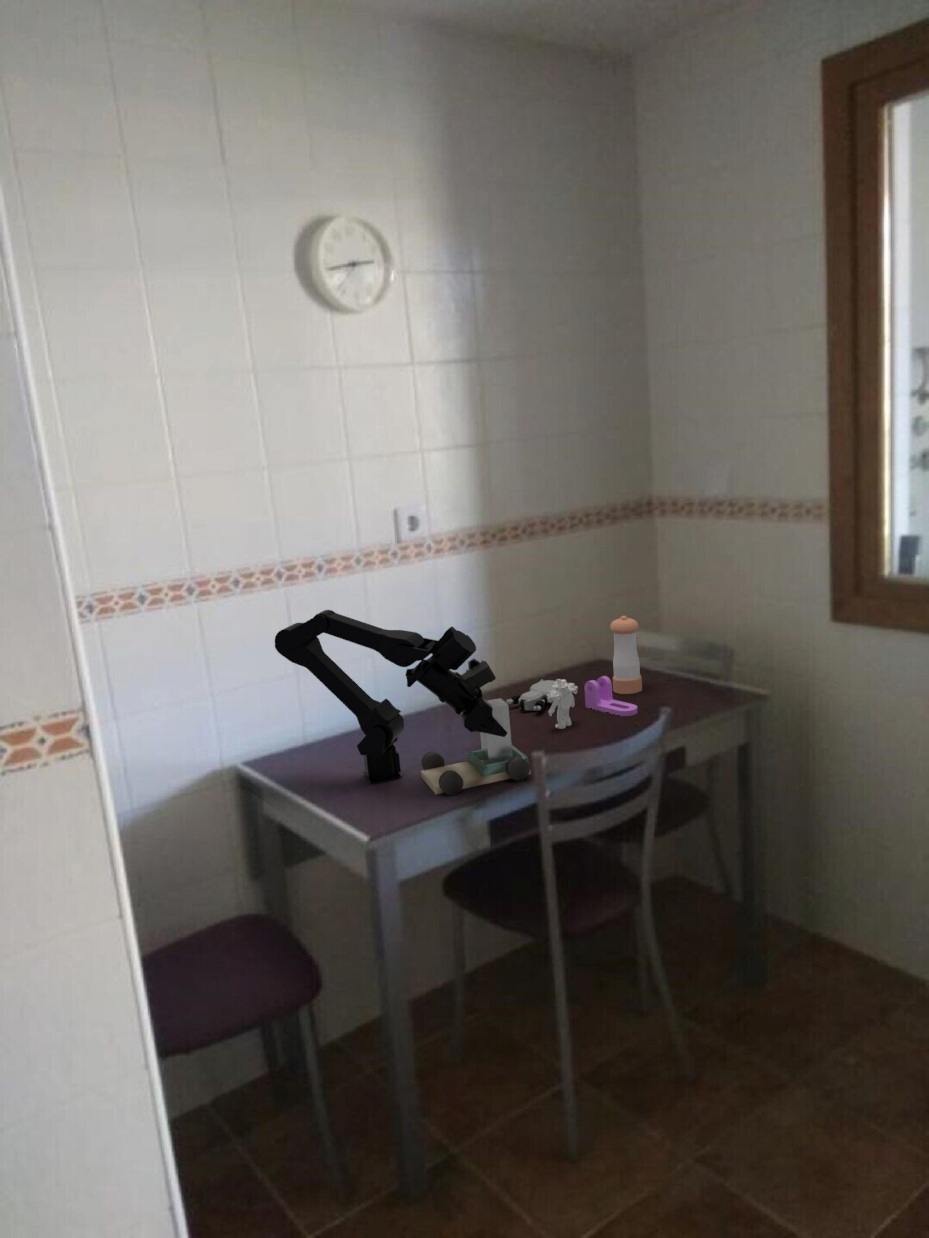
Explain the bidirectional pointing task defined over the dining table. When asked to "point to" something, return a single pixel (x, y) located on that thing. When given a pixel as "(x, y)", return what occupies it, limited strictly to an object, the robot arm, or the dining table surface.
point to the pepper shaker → (626, 657)
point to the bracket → (606, 698)
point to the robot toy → (534, 696)
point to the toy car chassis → (471, 771)
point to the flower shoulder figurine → (562, 702)
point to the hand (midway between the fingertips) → (501, 728)
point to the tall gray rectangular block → (496, 745)
